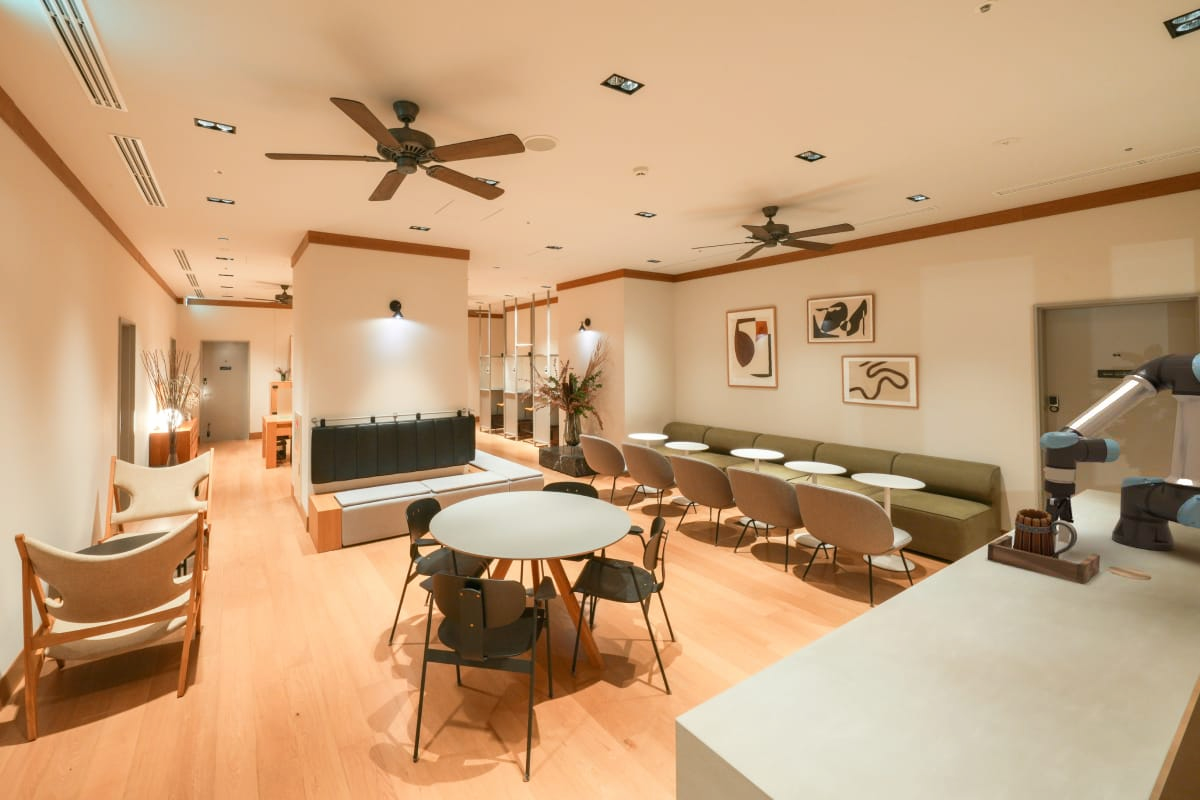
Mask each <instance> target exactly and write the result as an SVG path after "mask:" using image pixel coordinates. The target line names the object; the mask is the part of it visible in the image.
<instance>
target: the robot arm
mask: <svg viewBox="0 0 1200 800" xmlns="http://www.w3.org/2000/svg"><path fill="white" fill-rule="evenodd" d="M1164 391H1171V396H1172V397H1173V398H1174V399H1175V400H1176V401H1177V409H1176V419H1175V428H1174V429H1175V431H1174V440H1173V450H1172V458H1171V459H1172V460H1171V469H1170V475H1169V476H1167V477H1160V476H1159V477H1155V476H1126V477H1124V478H1122V481H1121V487H1120V507H1119V508H1120V509H1119V510H1120V511H1119V519H1118V521H1117V523H1116V525H1115V526H1114V528H1113V530H1112V532H1111V539H1112V541H1114V542H1116V543H1119V544H1121V545H1125V546H1129V547H1134V548H1138V549H1144V550H1153V551H1163V552H1164V551H1167V550H1168V551H1173V549H1174V548H1176V541H1175V539H1174V535H1173V534H1172V530H1171V528H1170V525H1169V522H1171V523H1176V524H1179V525H1181V526H1184V527H1190V528H1194V529H1199V530H1200V352H1198V353H1170V354H1164V355H1161V356H1158V357H1156V358H1153V359H1151V360H1149V361H1147V362H1144V363H1142V364H1141V365H1139V366H1138V367H1136V368H1135V369H1133V370H1132V371H1131V372H1129V373H1128V374H1127V375H1126V376H1124V377H1123V379H1122V383H1121V384H1119V385H1117V386H1116V387H1115V388H1113V390H1111V391H1109V392H1108V393H1107V394H1105V395H1104V396H1103V397H1102V398H1100V399H1099V400H1098V401H1096V402H1095V403H1094V404H1093V405H1091V406H1090V407H1089V408H1088V409H1086V410H1085V411H1082V413H1081V414H1079V415H1078V416H1077V417H1075V418H1074V419H1073V420H1071V421H1070V422H1068V423H1067V424H1066V425H1065V426H1064V427H1062V428H1060V429H1059V430H1058V431H1049V432H1046V433H1044V434H1043V435H1041V437H1040V438H1039V443H1038V444H1039V446H1040V449H1041V450H1042V451H1043V452H1045V468H1043V469H1042V470H1043V472H1044V478H1045V480H1044V483H1043V485H1044V486H1043V490H1044V492H1045V493H1047V494H1048V493H1049V494H1051V497H1047V498H1046V507H1045V511H1044V512H1047V513H1048V514H1050V515H1051V517H1052V522H1053V523H1054V522H1055V521H1058V520H1063V521H1067V522H1069V523H1070V524H1074V522H1075V521H1074V517H1073V509H1072V501H1071V499H1072V498H1071V496H1074V495H1075V494H1076V483H1075V482H1076V481H1077V465H1078V463H1101V464H1104V463H1114V462H1116V461H1118V459H1119V457H1120V455H1121V448H1120V447H1121V446H1120V445H1119V444H1118V443H1117V441H1116V440H1114V439H1110V438H1103V437H1102V438H1101V437H1100V438H1094V437H1095V436H1097V435H1098V434H1100V432H1102V431H1103V430H1105V429H1106V428H1108V426H1110V425H1111V424H1113V423H1114V422H1115V421H1116V420H1118V419H1119V418H1120V417H1123V415H1125V414H1126V413H1128V412H1129V411H1131V409H1133V408H1134V407H1136V406H1137V405H1138V404H1140V403H1141V402H1142V401H1143V400H1145V399H1147V398H1148V399H1149V398H1153V397H1155V396H1156V395H1158V394H1159V393H1161V392H1164ZM1057 531H1058V532H1059V534H1057V535H1056V536H1054V535H1053V541H1054V551H1055V552H1056V547H1057V546H1056V545H1057V541H1058V542H1061V543H1065V544H1069V542H1070V539H1071V534H1070V532H1069V530H1068V529H1067V528H1066V527H1065V526H1062V525H1058V529H1057ZM1174 550H1175V549H1174ZM1168 551H1167V552H1168Z"/></svg>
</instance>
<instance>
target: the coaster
mask: <svg viewBox="0 0 1200 800" xmlns="http://www.w3.org/2000/svg"><path fill="white" fill-rule="evenodd" d="M1107 571H1108V572H1109V573H1111V574H1113V575H1117V576H1119V577H1122V578H1127V579H1131V580H1141V581H1143V580H1147V581H1148V580H1151V579H1152V575H1151V574H1149V573H1148V572H1145V571H1143V570H1140V569H1135V568H1131V567H1126V566H1118V565H1117V566H1115V565H1114V566H1108V567H1107Z"/></svg>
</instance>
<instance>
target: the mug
mask: <svg viewBox="0 0 1200 800" xmlns="http://www.w3.org/2000/svg"><path fill="white" fill-rule="evenodd" d="M1014 521H1015V522H1014V526H1015V527H1014V528H1015V529H1014V538H1013V544H1012V548H1013V549H1017V550H1021V551H1026V552H1030V553H1034V554H1039V555H1043V556H1048V557H1052V558H1056V559H1060V558H1059V556H1060V555H1062V554H1064V553H1066V552H1068V551H1070V550H1071V549H1072V548H1073V547H1074V546H1075V545H1076V542H1077V540H1078V539H1077V538H1078V532H1077V530H1076V529H1077V528H1075V526H1074V525H1073V523H1069V522H1067V521H1063V520H1060V519H1058V521H1055V522H1054V523H1053V522H1052V517H1051V515H1050V514H1048V513H1047V512H1045V511H1043V510H1041V509H1035V508H1022V509H1019V510H1018V511H1017V512H1016V517H1015V519H1014ZM1059 525H1062V526H1065V527H1066V528H1067V529H1068V530H1069V532H1070V538H1069V543H1067V545H1066V546H1065V547H1063V548H1060V549H1058V550H1057V551H1056V550H1055V551H1054V541H1053V535H1054V536H1056V537H1057V536H1058V534H1059V532H1058V529H1057V526H1059ZM1061 560H1065V561H1068V559H1065V558H1062V559H1061Z"/></svg>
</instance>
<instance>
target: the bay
mask: <svg viewBox="0 0 1200 800" xmlns="http://www.w3.org/2000/svg"><path fill="white" fill-rule="evenodd" d="M986 559H988V560H987V561H990V560H991V561H990V562H995V563H999V564H1002V565H1003V564H1004V565H1007V566H1011V567H1014V568H1019V569H1023V570H1027V571H1031V572H1034V573H1037V574H1038V573H1039V574H1043V575H1047V576H1050V577H1054V578H1059V579H1063V580H1067V581H1071V582H1075V583H1078V584H1083V585H1084V584H1085V583H1087V582H1088V581H1089V580H1090V579H1091V578H1093V577H1094V576H1095V575H1097V574H1098V573H1099V572H1100V561H1101V555H1100V554H1097V553H1092V554H1091V555H1088V557H1086V558H1085V559H1083V560H1081V562H1079V563H1078V562H1073V561H1070V560H1069V561H1068V560H1067V561H1065V560H1062V559H1060V558H1059V559H1056V558H1052V557H1048V556H1043V555H1039V554H1034V553H1030V552H1026V551H1021V550H1017V549H1013V535H1005V536H1004V535H1003V536H1002V537H1000V538H998V539H997V540H994V541H992V542H990V543H988V544H987V558H986Z"/></svg>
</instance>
